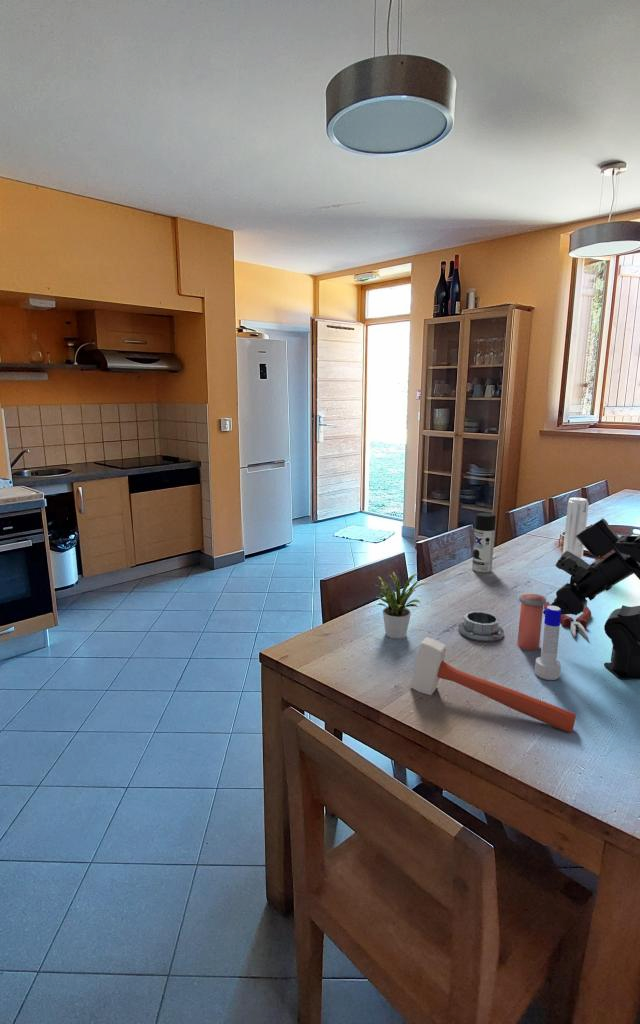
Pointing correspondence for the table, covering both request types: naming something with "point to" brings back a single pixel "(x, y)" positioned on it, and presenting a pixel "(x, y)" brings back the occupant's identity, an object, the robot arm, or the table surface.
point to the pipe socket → (481, 627)
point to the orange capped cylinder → (530, 620)
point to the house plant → (397, 607)
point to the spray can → (483, 542)
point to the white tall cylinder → (575, 525)
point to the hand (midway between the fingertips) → (549, 607)
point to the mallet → (481, 687)
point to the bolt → (549, 646)
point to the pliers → (575, 625)
